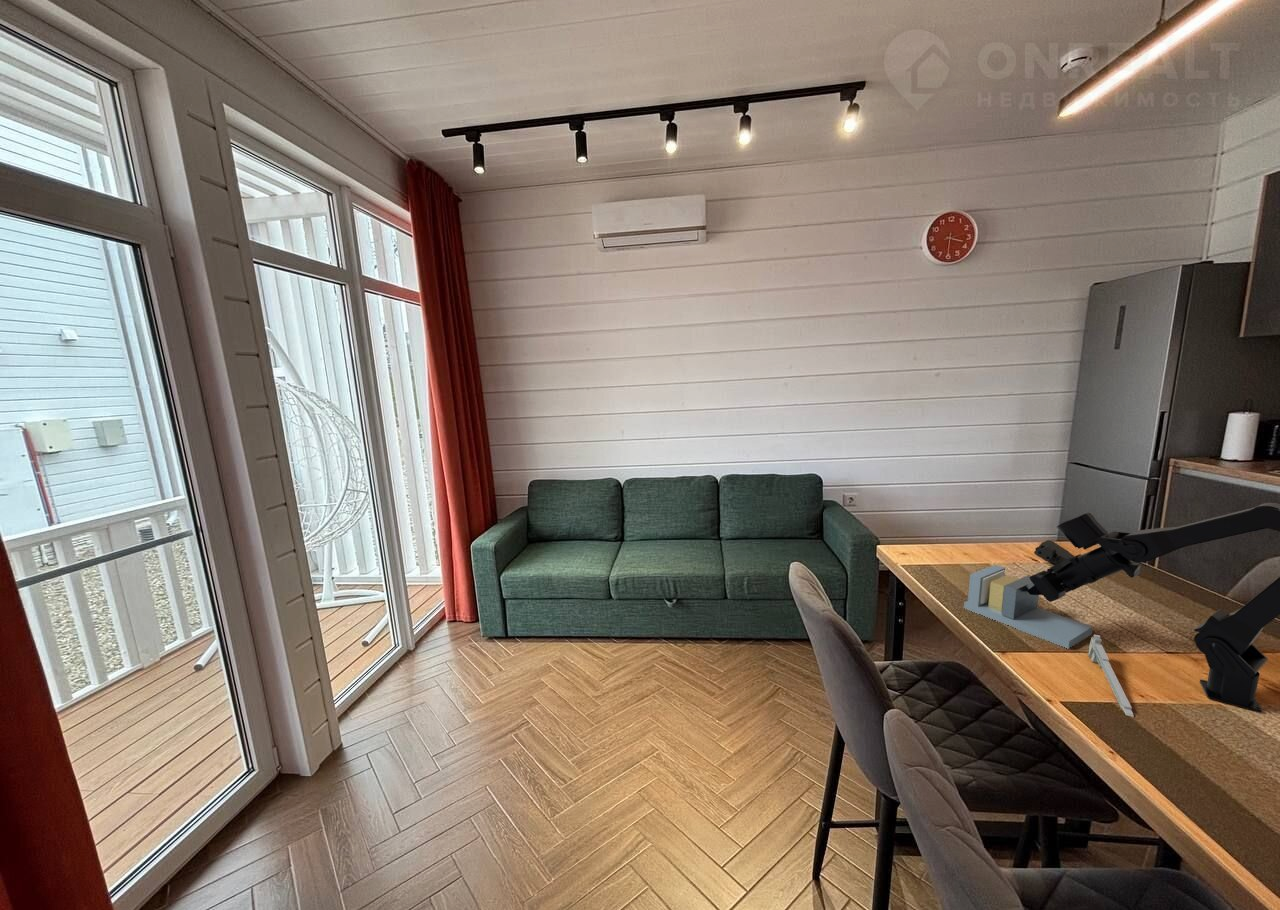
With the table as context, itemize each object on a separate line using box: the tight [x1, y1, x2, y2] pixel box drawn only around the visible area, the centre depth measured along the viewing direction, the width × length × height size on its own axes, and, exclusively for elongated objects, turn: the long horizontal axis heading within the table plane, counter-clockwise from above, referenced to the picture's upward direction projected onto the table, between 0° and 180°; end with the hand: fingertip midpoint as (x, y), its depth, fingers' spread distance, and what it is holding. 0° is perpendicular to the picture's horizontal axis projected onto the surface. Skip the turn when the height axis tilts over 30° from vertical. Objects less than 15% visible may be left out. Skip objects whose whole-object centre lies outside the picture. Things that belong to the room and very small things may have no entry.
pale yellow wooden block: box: [988, 574, 1020, 612], centre depth 121 cm, size 3×8×7 cm, turn 118°
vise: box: [963, 564, 1093, 650], centre depth 117 cm, size 22×12×10 cm, turn 28°
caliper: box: [1088, 634, 1134, 718], centre depth 93 cm, size 20×1×6 cm, turn 151°
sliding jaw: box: [1002, 574, 1040, 619], centre depth 118 cm, size 3×12×8 cm, turn 118°
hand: (1029, 592), depth 116 cm, fingers closed, pressing on sliding jaw
